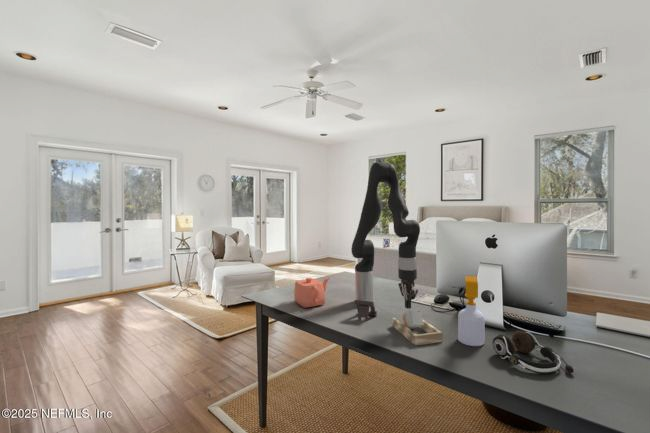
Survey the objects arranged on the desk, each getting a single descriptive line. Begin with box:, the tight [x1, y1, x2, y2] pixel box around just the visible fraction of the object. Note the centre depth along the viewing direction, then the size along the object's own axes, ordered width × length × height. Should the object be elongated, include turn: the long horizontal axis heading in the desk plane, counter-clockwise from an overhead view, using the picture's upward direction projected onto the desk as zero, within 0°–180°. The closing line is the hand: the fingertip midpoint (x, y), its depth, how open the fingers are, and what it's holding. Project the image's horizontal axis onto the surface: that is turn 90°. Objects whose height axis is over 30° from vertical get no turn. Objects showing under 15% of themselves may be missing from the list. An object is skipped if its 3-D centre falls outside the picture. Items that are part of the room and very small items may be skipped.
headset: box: [492, 330, 575, 375], centre depth 104 cm, size 17×8×20 cm
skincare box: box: [402, 308, 424, 330], centre depth 129 cm, size 6×4×12 cm
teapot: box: [293, 277, 331, 309], centre depth 170 cm, size 20×19×14 cm
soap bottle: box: [457, 275, 486, 347], centre depth 120 cm, size 9×9×25 cm
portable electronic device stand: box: [354, 299, 378, 322], centre depth 147 cm, size 9×8×8 cm
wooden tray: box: [391, 317, 444, 346], centre depth 128 cm, size 19×11×4 cm, turn 14°
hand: (408, 308), depth 135 cm, fingers closed
